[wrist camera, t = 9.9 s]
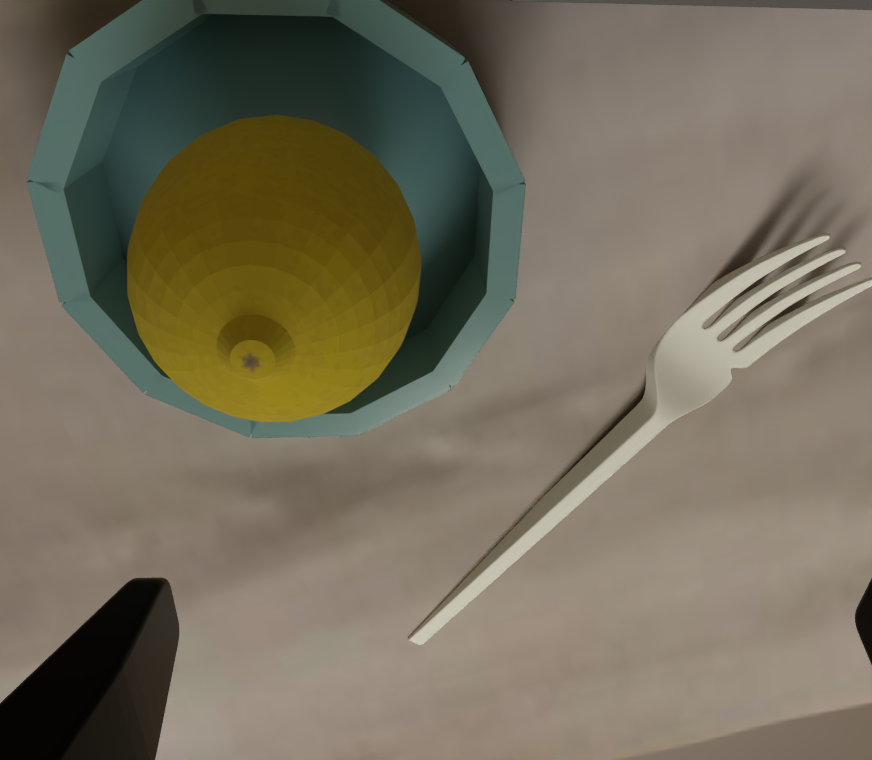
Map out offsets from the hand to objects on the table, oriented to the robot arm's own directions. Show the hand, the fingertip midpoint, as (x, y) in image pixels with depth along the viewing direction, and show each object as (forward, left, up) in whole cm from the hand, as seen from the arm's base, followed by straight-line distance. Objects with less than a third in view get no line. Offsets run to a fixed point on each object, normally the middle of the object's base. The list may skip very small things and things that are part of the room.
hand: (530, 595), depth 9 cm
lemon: (+4, -2, -12) cm, 12 cm away
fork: (-5, +8, -13) cm, 15 cm away
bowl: (+4, -1, -12) cm, 13 cm away
